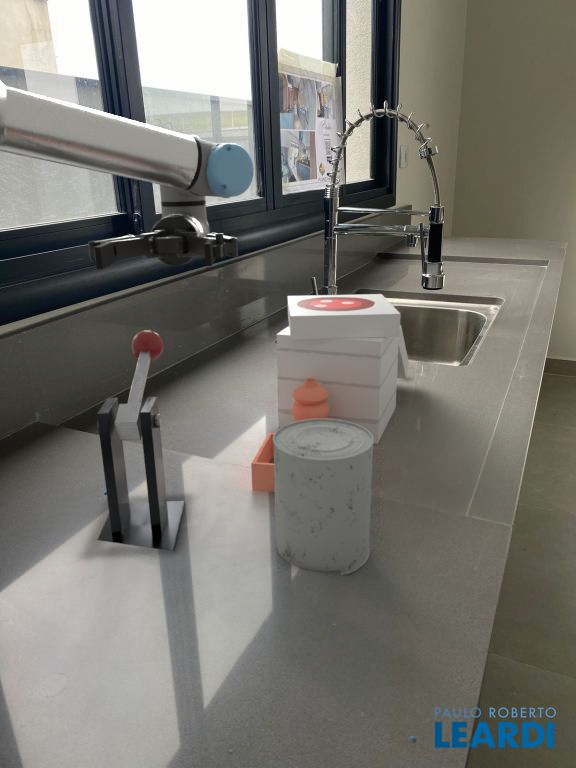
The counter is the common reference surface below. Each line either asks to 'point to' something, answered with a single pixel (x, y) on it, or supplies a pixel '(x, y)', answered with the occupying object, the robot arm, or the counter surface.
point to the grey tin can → (323, 494)
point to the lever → (137, 385)
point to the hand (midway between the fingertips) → (153, 256)
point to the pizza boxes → (343, 357)
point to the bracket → (158, 516)
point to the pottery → (305, 407)
